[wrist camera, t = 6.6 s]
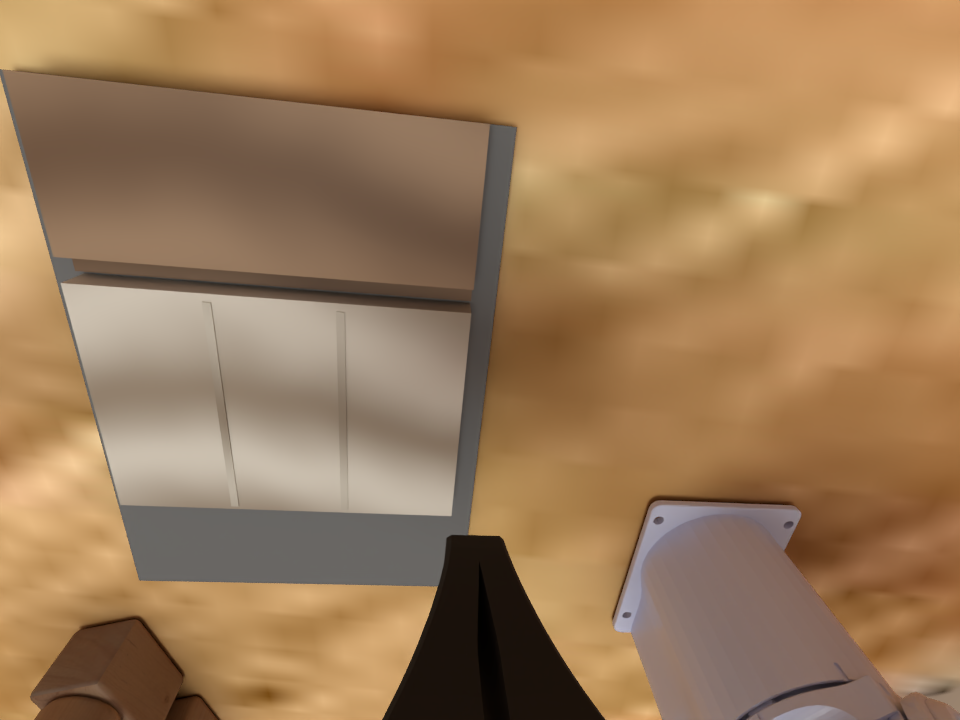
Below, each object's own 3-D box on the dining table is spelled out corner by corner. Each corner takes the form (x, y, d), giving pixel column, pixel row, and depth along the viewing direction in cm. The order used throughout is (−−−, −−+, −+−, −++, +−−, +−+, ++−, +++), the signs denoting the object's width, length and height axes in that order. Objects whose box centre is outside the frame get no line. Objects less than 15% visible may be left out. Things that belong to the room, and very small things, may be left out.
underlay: (461, 577, 27) (461, 586, 26) (146, 570, 25) (139, 580, 24) (514, 127, 17) (516, 127, 17) (14, 71, 16) (-2, 69, 15)
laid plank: (470, 297, 19) (471, 308, 18) (82, 268, 18) (59, 277, 17) (487, 123, 16) (489, 124, 15) (33, 73, 15) (2, 69, 14)
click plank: (451, 497, 23) (451, 517, 22) (136, 486, 22) (119, 506, 21) (469, 302, 19) (471, 314, 18) (83, 273, 18) (58, 283, 17)
